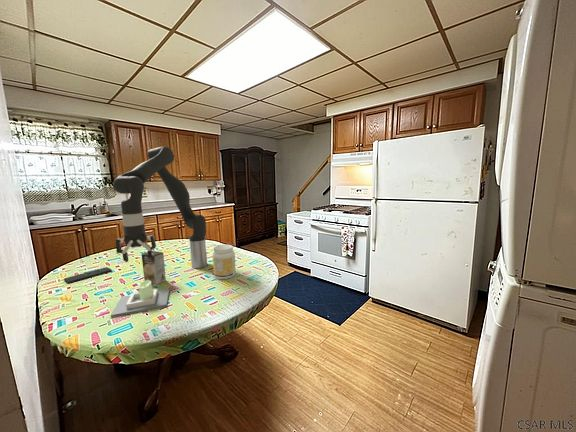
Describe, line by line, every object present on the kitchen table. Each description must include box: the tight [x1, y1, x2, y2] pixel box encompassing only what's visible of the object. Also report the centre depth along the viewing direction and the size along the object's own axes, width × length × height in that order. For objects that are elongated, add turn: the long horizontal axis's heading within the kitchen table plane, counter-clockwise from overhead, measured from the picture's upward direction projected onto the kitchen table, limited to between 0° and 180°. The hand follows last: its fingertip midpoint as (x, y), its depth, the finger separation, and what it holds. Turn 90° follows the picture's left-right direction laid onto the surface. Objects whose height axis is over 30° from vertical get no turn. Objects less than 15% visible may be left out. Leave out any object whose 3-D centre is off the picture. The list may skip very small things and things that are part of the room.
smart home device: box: [63, 266, 113, 285], centre depth 134 cm, size 8×2×20 cm
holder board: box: [110, 288, 170, 318], centre depth 104 cm, size 20×16×3 cm
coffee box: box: [141, 250, 167, 286], centre depth 125 cm, size 9×6×16 cm
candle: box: [138, 280, 153, 301], centre depth 104 cm, size 5×5×8 cm
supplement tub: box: [212, 244, 237, 280], centre depth 131 cm, size 12×12×17 cm
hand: (138, 259), depth 101 cm, fingers open, 8 cm apart
